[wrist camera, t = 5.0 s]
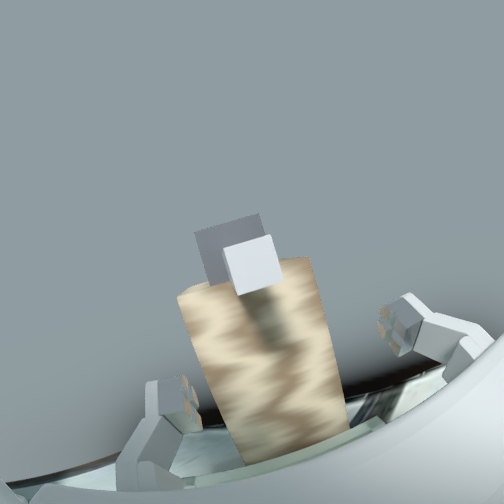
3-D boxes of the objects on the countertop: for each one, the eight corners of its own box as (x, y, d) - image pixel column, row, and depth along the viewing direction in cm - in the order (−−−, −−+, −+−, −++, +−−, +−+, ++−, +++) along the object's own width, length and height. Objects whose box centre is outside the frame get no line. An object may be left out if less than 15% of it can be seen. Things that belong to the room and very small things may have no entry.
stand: (261, 494, 23) (176, 297, 23) (251, 450, 32) (189, 287, 33) (355, 460, 24) (308, 256, 24) (328, 423, 34) (283, 258, 34)
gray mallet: (202, 306, 13) (173, 208, 13) (212, 281, 31) (199, 238, 31) (317, 269, 14) (288, 176, 14) (262, 265, 32) (250, 223, 32)
